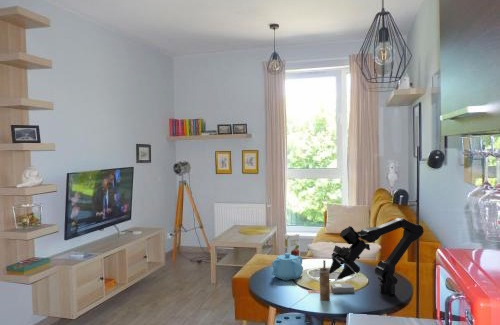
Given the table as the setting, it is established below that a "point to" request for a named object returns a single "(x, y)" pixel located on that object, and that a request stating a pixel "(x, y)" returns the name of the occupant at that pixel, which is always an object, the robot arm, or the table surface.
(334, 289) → the block
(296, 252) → the juice carton
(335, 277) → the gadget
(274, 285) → the table surface
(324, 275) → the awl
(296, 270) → the decorative pot
